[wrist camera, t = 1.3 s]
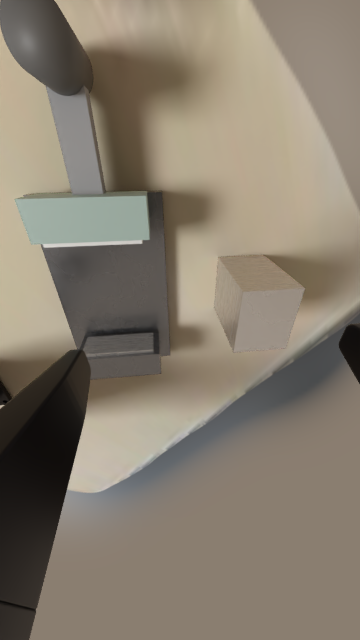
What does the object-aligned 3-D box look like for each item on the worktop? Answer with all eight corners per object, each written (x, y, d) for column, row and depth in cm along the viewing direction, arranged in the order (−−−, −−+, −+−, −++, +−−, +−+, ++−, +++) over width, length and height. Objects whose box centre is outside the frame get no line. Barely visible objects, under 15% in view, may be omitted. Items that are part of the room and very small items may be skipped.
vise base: (169, 350, 25) (172, 378, 21) (83, 356, 24) (73, 387, 21) (161, 190, 16) (164, 197, 13) (28, 194, 16) (-5, 201, 12)
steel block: (253, 304, 23) (285, 348, 17) (213, 307, 22) (233, 352, 17) (263, 254, 20) (305, 288, 14) (218, 256, 19) (243, 291, 14)
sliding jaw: (150, 232, 17) (149, 250, 13) (51, 236, 16) (24, 255, 13) (134, 37, 11) (126, -15, 8) (-14, 34, 11) (-88, -25, 8)
